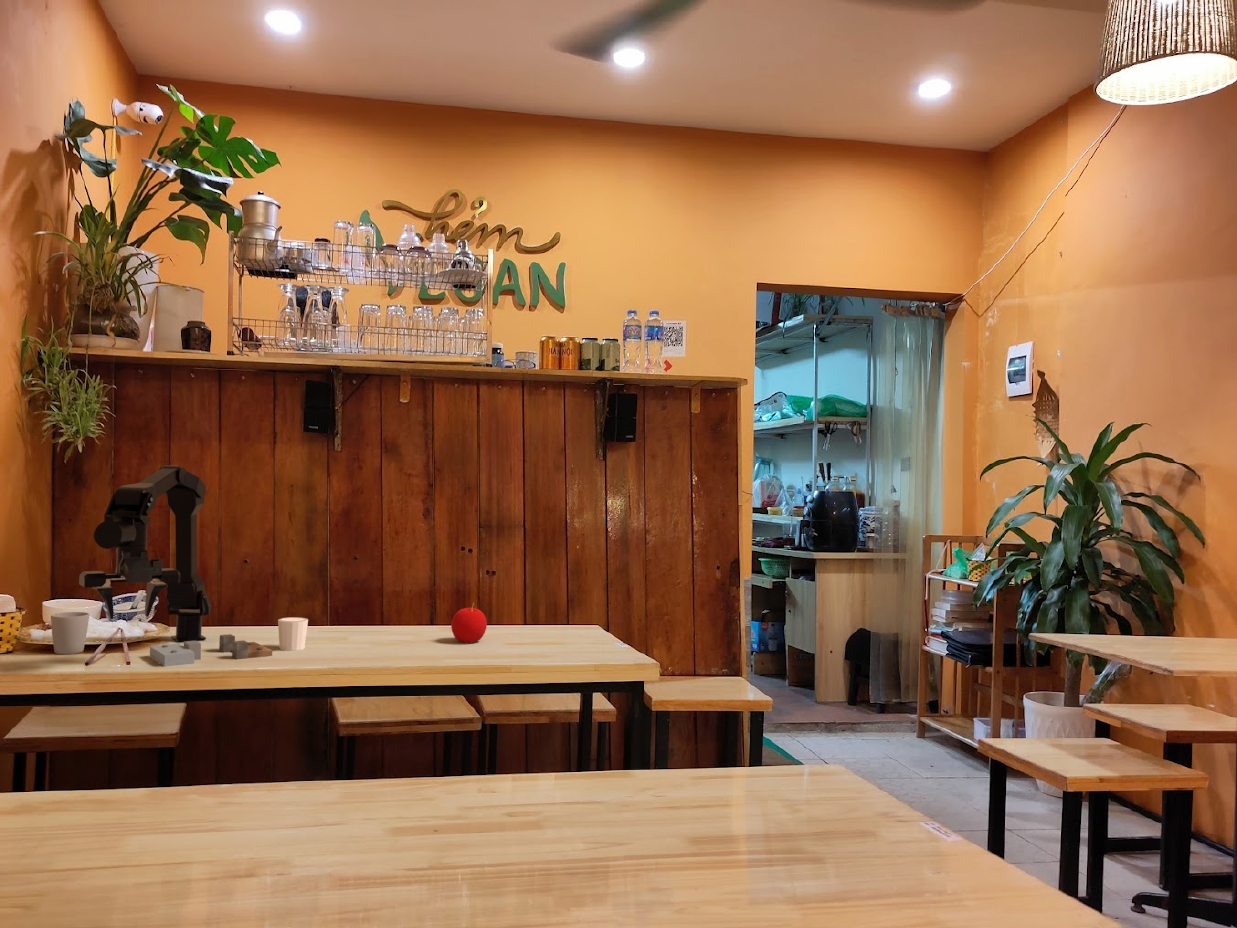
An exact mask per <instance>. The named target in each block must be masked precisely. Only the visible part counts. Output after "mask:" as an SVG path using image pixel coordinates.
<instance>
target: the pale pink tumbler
mask: <svg viewBox="0 0 1237 928" xmlns="http://www.w3.org/2000/svg"><path fill="white" fill-rule="evenodd" d="M308 622H309V619H308V618H305V617H297V616H295V617H293V616H292V617H291V616H290V617H283V618H279V619H277V625H278V627H277V629H278V645H279V650H281V651H286V652H287V651H289V652H291V651H292V652H293V651H303V650H305V647H306V641H307V640H306V638H307V633H308Z"/></svg>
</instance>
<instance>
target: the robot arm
mask: <svg viewBox="0 0 1237 928" xmlns="http://www.w3.org/2000/svg"><path fill="white" fill-rule="evenodd" d="M206 494H207V488H206V485H205V483H204V482H203V480H201V478H200V477H199V476H197V475H196V474H193V473H191V472H189V471H187V469H186V467H184V466H183V467H182V466H181V465H163V466H160V467H159V469H158V470H157V471H155V472H153V473H152V474H151V475H149V476H148V477H146V478H144V479H142V481H140V482H138V483H131V484H130V483H129V484H125V485H121V486H119V487H117V488H116V490H115V491H114V492H113V494H112V496H111V499H110V501H109V503H108V506H107V508H106V511H105V512H104V515H103V519H104V521H102V522H101V523H99V524H98V525H97V526H96V528H95V530H94V532H93V539H94V541H95V543H96V544H97V546H99V547H100V548H102V549H106V550H110V549H115V550H116V551H115V552H116V562H115V563H116V568H115V573H108V574H107V573H106V572H104V571H102V570H89V571H82V572H81V573H80V574H79V577H78V578H79V580H78V584H79V585H80V586H81V587H83V588H91V589H93V590H95V591H97V592H98V593H99V595H100V597H101V599H102V601H103V603H104V606H105V609H106V611H107V614H108V617H109V619H110V620H113V619H114V614H115V613H114V600H113V599H114V598H113V597H114V596H113V594H114V587H112V586H111V583H128V584H136V583H145V584H146V592H145V593H146V594H145V604H144V615H145V617H146V618H147V617H150V613H151V612H152V609H153V606H154V604H155V602H156V600H157V597H158V596H159V595H160V592H161V591H162V590H163V589H164V588H166V591H167V593H166V597H165V599H166V606H167V614H168V616H171V615H175V616H176V625H175V626H176V628H175V629H176V630H175V635H171V636H170V637H171V639H173V640H174V641H176V642H178V643H179V642H181V643H182V642H186V641H204V640H206V639H207V637H206V636H204V635H202V628H203V627H202V624H203V617H204V616H208V615H210V613H211V611H212V603H211V601H210V599H209V596H208V594H207V592H206V587H205V582H204V580H203V579H202V577H201V576H200V575H199V573H198V519H197V518H198V513H199V511H200V510H201V508H202V507H203V505H204V503H205V496H206ZM163 495H165V496H166V501H167V502H166V503H167V506H168V508H169V509H170V510H171V512H172V513H173V515H174V540H175V541H174V547H175V551H174V552H175V553H174V554H175V559H174V560H175V564H174V566H175V568H173V567H172V568H171V567H169V568H168V567H167V568H163V561H162V559H161V558H151V560H150V559H149V553H148V526H149V524H150V523H152V519H151V518H150V514H151V511H152V510H153V509H155V507H156V506H157V499H158V498H160V497H161V496H163Z"/></svg>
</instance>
